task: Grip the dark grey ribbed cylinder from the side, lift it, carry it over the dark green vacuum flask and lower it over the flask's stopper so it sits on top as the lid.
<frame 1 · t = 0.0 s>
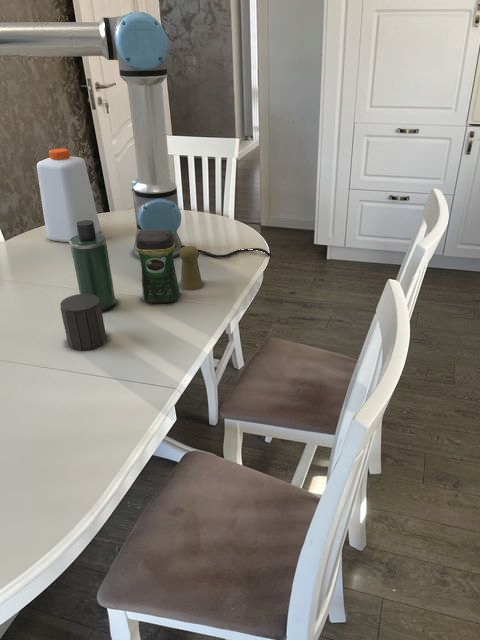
coffee jar: (161, 298, 145), on the table
flask: (99, 305, 141), on the table
dark grey ribbed cylinder: (87, 340, 126), on the table
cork: (191, 285, 152), on the table
plastic bottle: (74, 236, 187), on the table
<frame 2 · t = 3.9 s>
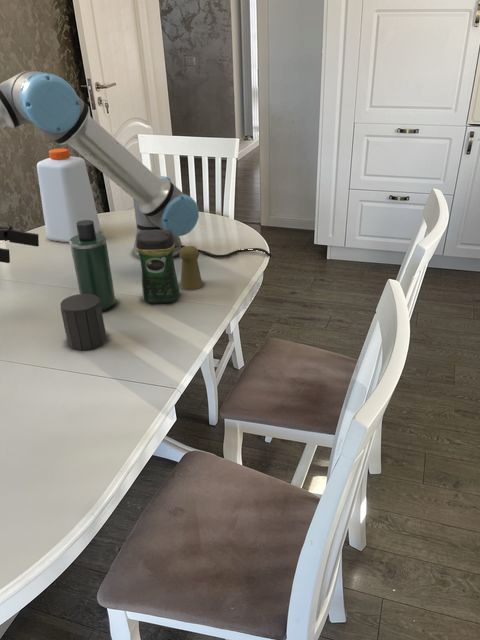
hand: (24, 248, 119), 21 cm above the table, tool horizontal, fingers open, 13 cm apart
nothing on the table moved.
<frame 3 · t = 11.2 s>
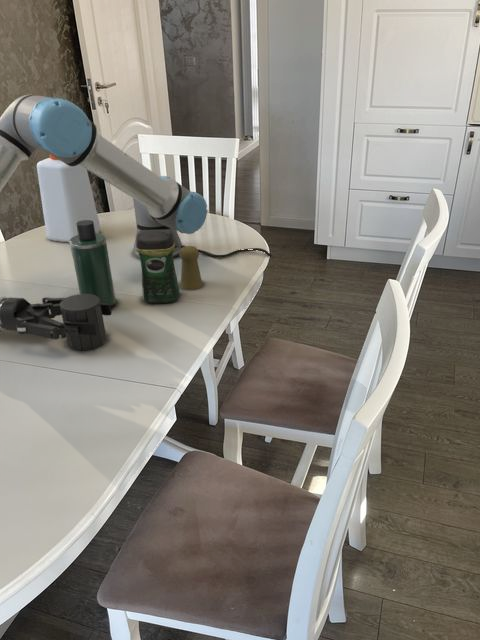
hand: (102, 318, 122), 6 cm above the table, tool horizontal, fingers closed on dark grey ribbed cylinder, 9 cm apart
dark grey ribbed cylinder: (87, 340, 126), on the table, touching gripper
everything else where it was.
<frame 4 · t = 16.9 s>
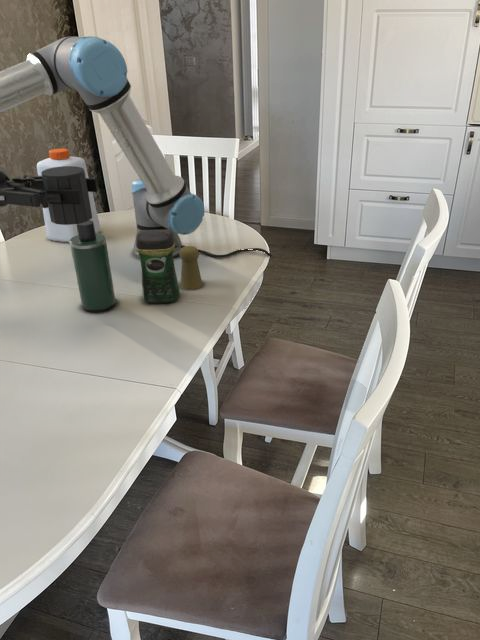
hand: (88, 191, 114), 33 cm above the table, tool horizontal, fingers closed on dark grey ribbed cylinder, 9 cm apart
dark grey ribbed cylinder: (71, 218, 117), point 27 cm above the table, touching gripper
everything else where it was.
when the fingers open (24 cm above the table, at t = 22.5 s): dark grey ribbed cylinder stays where it is, resting on flask.
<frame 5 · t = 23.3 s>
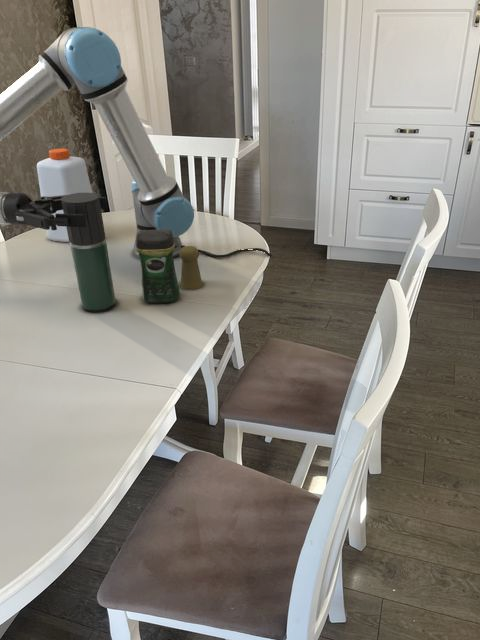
hand: (96, 211, 128), 25 cm above the table, tool horizontal, fingers open, 13 cm apart
dark grey ribbed cylinder: (87, 238, 132), point 18 cm above the table, touching flask
everything else where it was.
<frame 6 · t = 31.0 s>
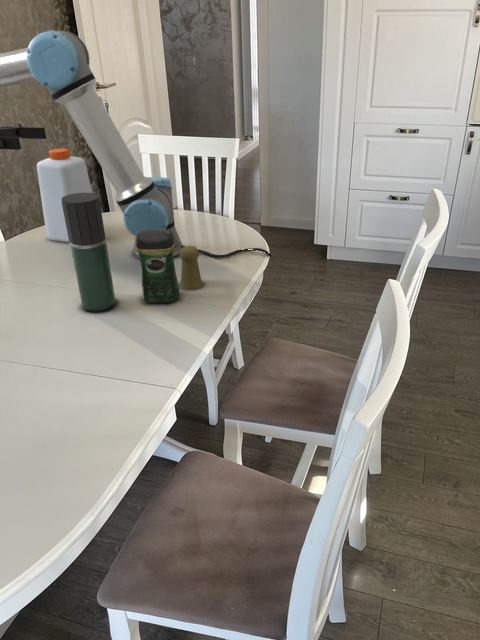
hand: (32, 138, 136), 38 cm above the table, tool horizontal, fingers open, 13 cm apart
nothing on the table moved.
at the end: dark grey ribbed cylinder 0.0 cm off-centre on the flask, point 18.0 cm above the flask's base; dark grey ribbed cylinder tilted 0°; the gripper is holding nothing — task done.
